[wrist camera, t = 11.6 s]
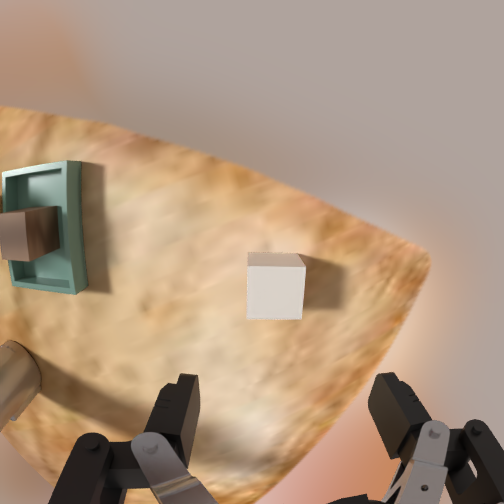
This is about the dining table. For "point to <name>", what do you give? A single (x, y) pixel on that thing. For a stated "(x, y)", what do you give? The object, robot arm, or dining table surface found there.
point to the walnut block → (29, 233)
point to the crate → (69, 223)
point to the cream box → (275, 285)
